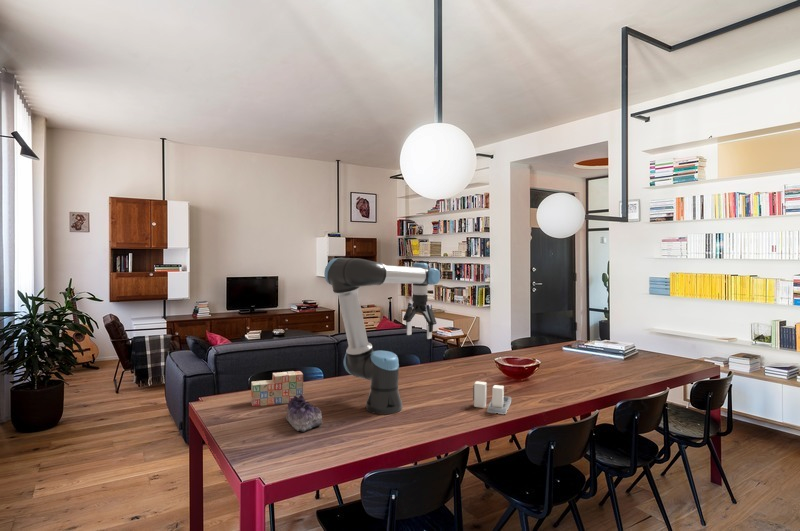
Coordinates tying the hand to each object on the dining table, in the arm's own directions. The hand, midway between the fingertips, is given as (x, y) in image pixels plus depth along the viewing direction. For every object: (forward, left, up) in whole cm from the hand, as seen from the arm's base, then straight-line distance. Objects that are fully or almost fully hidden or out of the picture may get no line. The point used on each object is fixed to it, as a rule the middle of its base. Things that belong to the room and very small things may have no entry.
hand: (419, 336), depth 234 cm
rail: (-19, -43, -24) cm, 53 cm away
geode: (-68, +25, -24) cm, 76 cm away
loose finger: (-21, -35, -24) cm, 47 cm away
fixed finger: (-24, -43, -24) cm, 55 cm away
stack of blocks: (-50, +48, -24) cm, 73 cm away
